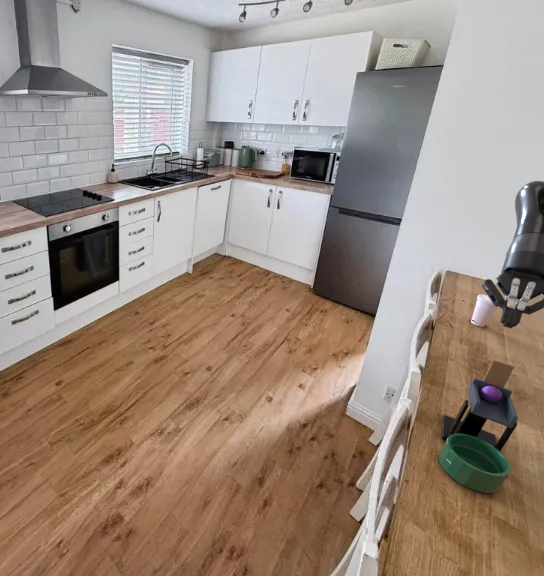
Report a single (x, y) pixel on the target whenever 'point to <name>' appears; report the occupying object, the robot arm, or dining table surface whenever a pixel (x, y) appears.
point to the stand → (473, 427)
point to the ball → (491, 394)
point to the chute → (495, 411)
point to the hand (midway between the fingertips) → (508, 326)
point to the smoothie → (483, 310)
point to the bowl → (474, 463)
